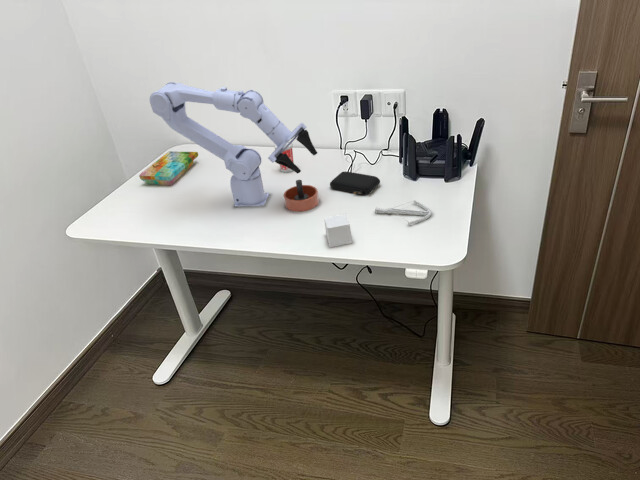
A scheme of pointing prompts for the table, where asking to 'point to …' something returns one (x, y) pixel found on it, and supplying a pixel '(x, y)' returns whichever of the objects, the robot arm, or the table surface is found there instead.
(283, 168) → the beverage cup
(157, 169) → the puzzle game
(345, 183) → the carrying case
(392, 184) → the table surface
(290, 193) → the pot
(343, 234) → the white cube
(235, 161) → the robot arm
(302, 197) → the dark grey bolt
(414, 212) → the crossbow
